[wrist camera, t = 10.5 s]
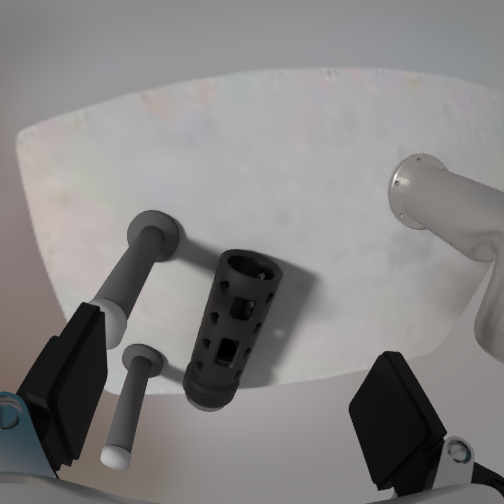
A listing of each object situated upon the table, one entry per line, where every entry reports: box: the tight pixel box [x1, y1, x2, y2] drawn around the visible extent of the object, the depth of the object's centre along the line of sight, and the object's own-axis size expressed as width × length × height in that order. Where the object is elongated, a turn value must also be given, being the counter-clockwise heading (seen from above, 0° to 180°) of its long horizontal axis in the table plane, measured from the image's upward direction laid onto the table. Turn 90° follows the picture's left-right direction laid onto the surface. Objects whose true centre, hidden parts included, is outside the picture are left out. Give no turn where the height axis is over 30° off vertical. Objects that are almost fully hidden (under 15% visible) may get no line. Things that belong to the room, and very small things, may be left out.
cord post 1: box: [89, 210, 179, 350], centre depth 37 cm, size 8×8×24 cm
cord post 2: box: [101, 344, 163, 470], centre depth 47 cm, size 8×8×24 cm
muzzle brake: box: [183, 249, 283, 412], centre depth 50 cm, size 10×28×10 cm, turn 162°
